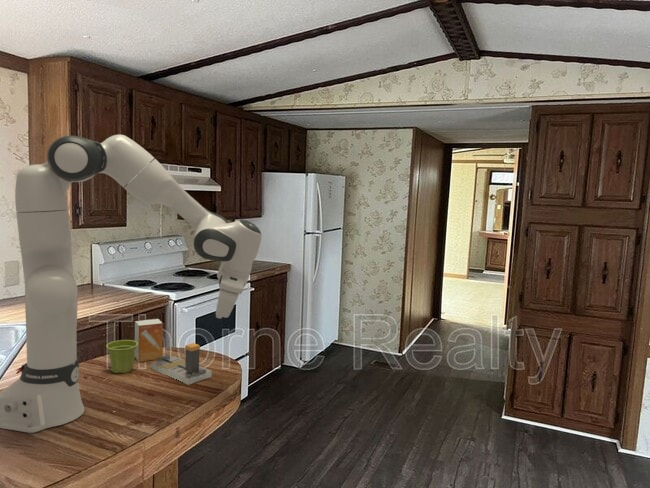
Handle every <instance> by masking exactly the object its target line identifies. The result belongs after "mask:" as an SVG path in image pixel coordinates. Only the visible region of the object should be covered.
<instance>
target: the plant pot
mask: <svg viewBox="0 0 650 488" xmlns="http://www.w3.org/2000/svg"><path fill="white" fill-rule="evenodd" d="M137 345H138V343H137V342H136V341H135V340H132V339H120V340H114V341H110V342H109V343H107V344H106V349H107V351H108V354H109V360H110V366H111V372H112V373H115V374H119V373H121V374H125V373H129V372H131V371H132V370H133V366H134V359H135V350H136V346H137Z"/></svg>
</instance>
